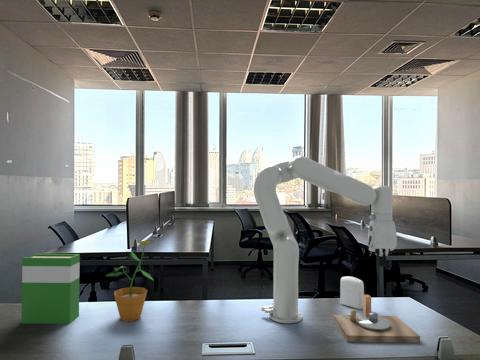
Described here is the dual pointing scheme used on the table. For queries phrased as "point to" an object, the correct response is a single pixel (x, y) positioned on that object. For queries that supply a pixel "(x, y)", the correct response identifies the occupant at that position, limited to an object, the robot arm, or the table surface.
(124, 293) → the potted plant
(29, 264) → the hardback book
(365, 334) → the walnut board
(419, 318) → the table surface
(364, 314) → the flange plate
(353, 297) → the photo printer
